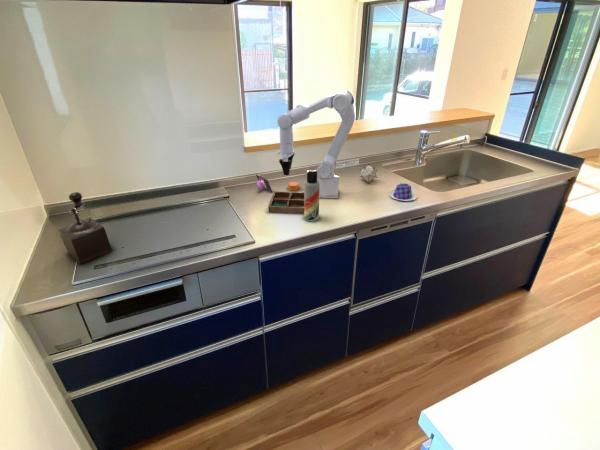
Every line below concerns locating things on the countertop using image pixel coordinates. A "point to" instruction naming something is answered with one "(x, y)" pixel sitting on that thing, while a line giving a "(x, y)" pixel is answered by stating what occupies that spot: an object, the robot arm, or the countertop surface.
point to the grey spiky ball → (368, 173)
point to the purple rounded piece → (261, 184)
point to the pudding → (403, 192)
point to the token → (293, 186)
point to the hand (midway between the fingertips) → (287, 171)
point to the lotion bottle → (311, 196)
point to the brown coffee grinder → (84, 235)
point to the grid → (287, 202)
